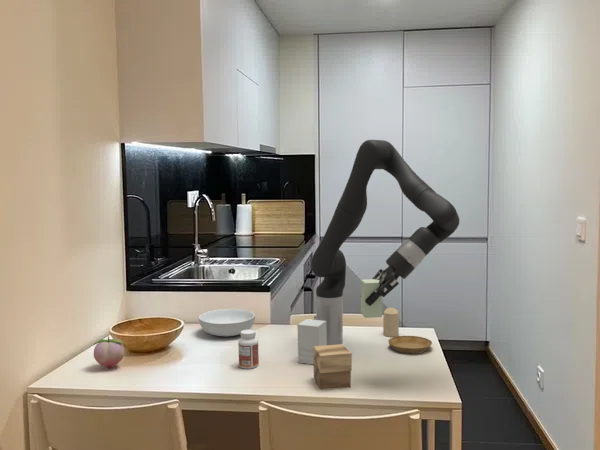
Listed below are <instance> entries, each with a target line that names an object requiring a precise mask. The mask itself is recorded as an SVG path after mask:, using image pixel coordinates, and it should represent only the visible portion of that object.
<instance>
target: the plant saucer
mask: <svg viewBox="0 0 600 450" xmlns="http://www.w3.org/2000/svg"><path fill="white" fill-rule="evenodd" d="M387 343H388V344H389V345H390V346H391V348H393V349H394V350H395V351H397V352H399V353H404V354H420V353H424V352H426V351H427V350H428V349H429V348H431V346H432V345H433V341H432V340H430V339H429V338H426V337H422V336H417V335H398V336H396V337H389V339H388V340H387Z"/></svg>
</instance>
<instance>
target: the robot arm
mask: <svg viewBox="0 0 600 450" xmlns="http://www.w3.org/2000/svg"><path fill="white" fill-rule="evenodd" d="M375 170H383V171H385V172H387V173H389V174H390V175H392V177H393V178H394V179H395V180H396V181H397V183H398V185H399V188H400V190H401V192H402V194H403V195H404V196H405V198H407V199H408V201H410V202H411V204H413V205H414V207H415V208H417V209H418V210H420V211H421V212H424V213H425V214H426V215H427V216H428V217H429V218H430V219H431V220H432V222H431V223H429V224H428V225H427V226H420V227H418V229H416V230H415V231H414V232H413V234H412V235H410V237H408V238H407V239H406V240H405V241H404V242H403V243H401V245H400V246H399V247H397V249H395V251H394V252H393V253H392V254H391V255H390V256H388V258H387V259H386V260H385V263H386V264H387V265H388V266H387V267H386V268H385V269H382V268H380V269H379V270H378V271H377V272H376V273H375V275H374V276H373V277H372V279H375V280H380V281H379V283H378V287H377V288H376V289H375V290H374V292H372V293H371V294H370V295H369V297H368V298H367V299H366V300H365V302H366V303H367V304H368V305H369V306H371V305H372V304H373V303H374V302H375V301H376V300H377V299H378V298H379V297H382V298H385V297H386V296H387V295H388V294H389V293H390V292H392V291H393V290H394V289H395V288H396V287H397V286H398V285H399V284H400V283H399V282H398V279H399V277H400V278H401V279H403V280H405V279H407V278H408V277H409V275H410V274H412V273H413V271H414V270H415V269H416V268H417V267H418V266H419V265H420V264H421V263H422V262H423V260H424V259H425V257H426V256H427V255H428V254H430V252H431V251H433V249H434V248H435V247H436V246H437V245H438V244H439V243H442V242H443V241H444V240H446V239H447V238H449V237H450V236H451V235H453V234H454V232H455V231H456V230H457V229H458V227H459V225H460V216H459V214H458V211H457V210H456V207H455V206H454V205H453V204H452V203H451V201H449V200H448V199H446V198H444V197H443V196H442V195H440V194H438V193H437V192H436V191H435V190H434V189H433V188H432V187H431V186H430V185H429V184H427V183H426V182H425V181H424V180H423V179H422V178H421V177H420V176H419V175H418V174H417V173H416V172H415V171H414V170H413V168H411V166H410V165H409V164H408V163H407V162H406V161H405V159H404V158H403V156H401V154H400V153H399V151H398V150H397V149H396V148H395V147H394V145H393V144H392V143H391V142H390V141H387V140H384V139H383V140H382V139H366V140H365V141H364V142H362V143H361V145H360V146H359V148H358V151H357V153H356V155H355V159H354V162H353V165H352V168H351V172H350V175H349V178H348V180H347V182H346V185H345V188H344V190H343V191H342V194H341V196H340V199H339V200H338V203H337V206H336V208H335V210H334V213H333V216H332V218H331V220H330V222H329V224H328V226H327V227H326V228H327V229H326V231H325V233H324V235H323V237H322V239H321V241H320V243H319V245H318V246H317V248H316V249H315V251H314V253H313V256H312V258H311V262H310V268H311V272H312V273H313V275H315V276H316V277H318V278H323V280H322V282H320V284H318V285H317V286H316V289H315V306H316V307H315V309H316V314H315V316H314V317H313V320H322V321H326V330H327V345H337V344H343V338H344V337H343V332H344V329H343V326H344V325H343V324H344V323H343V322H344V321H343V320H344V319H343V315H344V314H343V313H344V311H343V307H344V305H343V300H344V299H343V295H344V294H343V293H344V290H345V287H346V272H347V261H346V258H345V254H344V253H343V251H342V250H341V249H340V248H341V246H342V245H343V244H344V243H345V242H346V240H347V239H348V238H350V237H351V236H352V234H353V233H355V232H356V230H357V228H358V227H359V226H360V224H361V222H362V220H363V218H364V215H365V214H366V211H367V209H368V208H367V206H368V195H367V192H368V191H367V188H368V183H369V181H370V179H371V177H372V174H373V173H374V171H375ZM343 345H344V344H343Z"/></svg>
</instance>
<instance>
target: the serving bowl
mask: <svg viewBox="0 0 600 450" xmlns="http://www.w3.org/2000/svg"><path fill="white" fill-rule="evenodd" d="M255 319H256V314H255V313H254V312H253V311H251V310H247V309H243V308H220V309H212V310H208V311H206V312H203V313H201V314H200V315H199V316H198V320H199V325H200V327H201V328H202V330H203V331H204V332H206V333H207V334H210V335H213V336H218V337H235V336H238V335H241V331H243V330H251V328H252V326H254V323H255Z"/></svg>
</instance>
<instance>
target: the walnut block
mask: <svg viewBox="0 0 600 450" xmlns="http://www.w3.org/2000/svg"><path fill="white" fill-rule="evenodd" d="M313 379H314V381H315V383H316V385H317V387H318V390H330V389H331V390H332V389H345V388H347V387H348V388H352V383H351V382H352V371H341V372H329V373H320V372H319V370H318V369H317V367H316V366H315V365H314V364H313ZM348 388H347V389H348Z"/></svg>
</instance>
